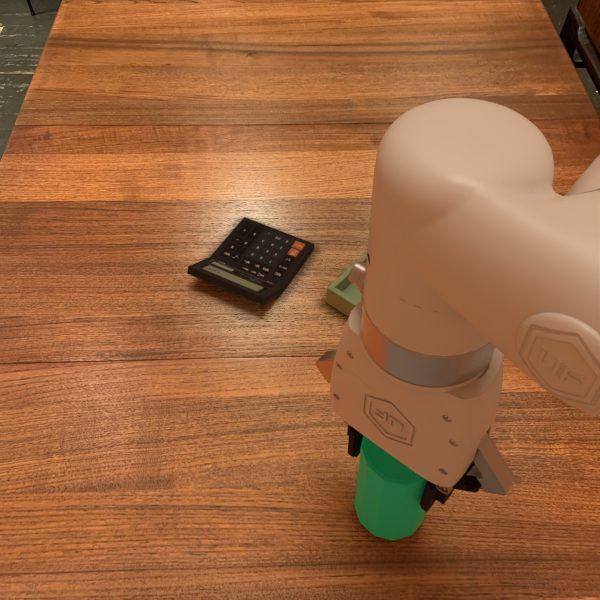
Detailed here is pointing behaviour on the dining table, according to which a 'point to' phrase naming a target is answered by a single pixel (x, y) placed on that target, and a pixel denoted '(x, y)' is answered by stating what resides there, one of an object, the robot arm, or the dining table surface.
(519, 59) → the dining table surface
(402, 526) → the candle
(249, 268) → the calculator
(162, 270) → the dining table surface
